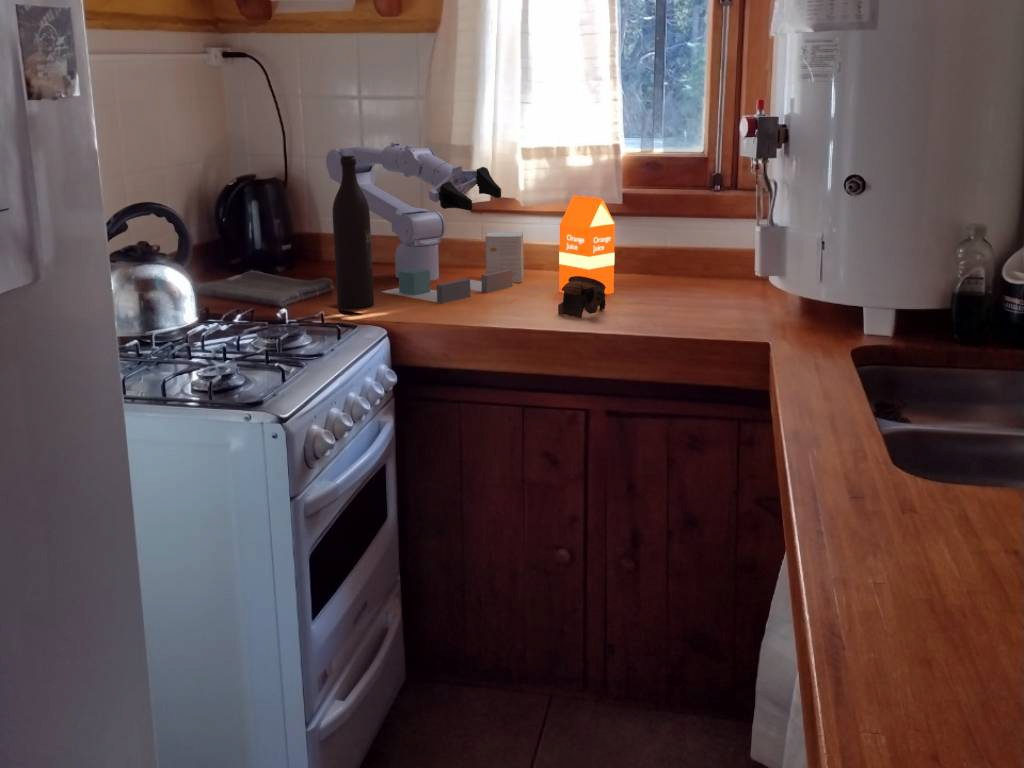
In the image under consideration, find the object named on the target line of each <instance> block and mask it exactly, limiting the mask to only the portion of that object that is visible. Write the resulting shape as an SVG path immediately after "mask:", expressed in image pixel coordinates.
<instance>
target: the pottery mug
mask: <svg viewBox="0 0 1024 768" xmlns="http://www.w3.org/2000/svg"><path fill="white" fill-rule="evenodd" d="M568 281H569V282H568V283H567V284H566V285H565V286H564V287H563V288H562V289H561V291H564V293H563V294H562V301H561V302H560V303H558V306H557V315H558V314H559V316H560V315H567V316H571V317H575V318H579V319H582V317H583V313H584V309H585V312H586V313H587V314H589V315H590V314H595V313H596V312H597V311H598V309H599V310H600V311H603V310H605V309H606V298H605V297H606V295H607V294H605V292H604V291H605V288H606V287H605V285H604V284H603V283H601V282H600V281H598V280H595V279H592V278H588V277H583V276H573V277H570V278H569V279H568Z"/></svg>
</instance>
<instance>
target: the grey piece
mask: <svg viewBox="0 0 1024 768" xmlns="http://www.w3.org/2000/svg"><path fill="white" fill-rule="evenodd" d="M470 280H471V279H469V278H462V279H456V280H453V281H447V282H444V283H443V282H442V283H438V284H436V289H431V288H430V292H427V293H423V294H419V295H410V294H404V293H399V287H395V288H392V289H387V290H383V291H381V293H385V294H390V295H397V296H400V297H406V298H412V299H418V300H421V301H422V300H423V301H429V302H433V303H439V304H446V303H450V302H455V301H458V300H462V299H466V298H470V297H471V290H470Z"/></svg>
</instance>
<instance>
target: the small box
mask: <svg viewBox="0 0 1024 768" xmlns="http://www.w3.org/2000/svg"><path fill="white" fill-rule="evenodd" d="M524 263H525V262H524V233H523V232H521V231H520V232H519V231H518V232H517V231H515V232H513V231H512V232H509V231H508V232H507V231H506V232H505V231H504V232H498V231H496V232H495V231H493V232H487V234H486V235H485V268H486V269H485V272H486V273H485V274H488V273H493V272H497V271H502V270H506V269H508V270H512V283H513V284H514V283H517V284H522V282H523V280H524V277H525V275H524V274H525V269H524V267H525V266H524Z"/></svg>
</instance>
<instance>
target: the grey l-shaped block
mask: <svg viewBox="0 0 1024 768" xmlns="http://www.w3.org/2000/svg"><path fill="white" fill-rule="evenodd" d="M513 284H514V283H512V270H508V269H506V270H502V271H497V272H493V273H488V274H486V273H485V274H484V273H483V274H481V281H480V280H475V279H470V291H474V292H478V293H479V292H480V293H486V294H488V293H492V292H497V291H501V290H504V289H509V288H512V287H513Z"/></svg>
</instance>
